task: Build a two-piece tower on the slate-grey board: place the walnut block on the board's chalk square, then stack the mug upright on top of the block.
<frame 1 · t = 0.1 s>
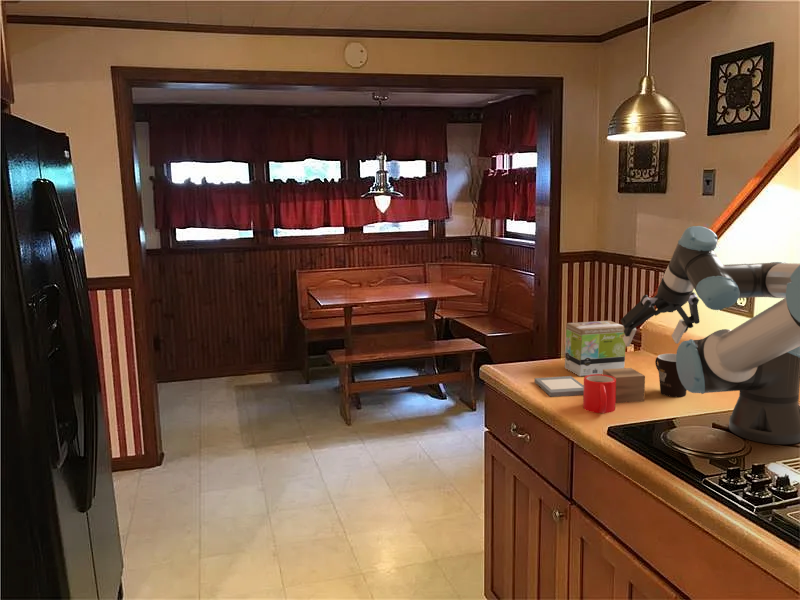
hand: (650, 341, 174), 15 cm above the worktop, tool tilted 35°, fingers open, 13 cm apart
coffee mug: (671, 392, 181), on the worktop
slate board: (561, 388, 187), on the worktop
walnut block: (622, 397, 177), on the worktop
mug: (600, 411, 167), on the worktop
tea box: (594, 371, 203), on the worktop
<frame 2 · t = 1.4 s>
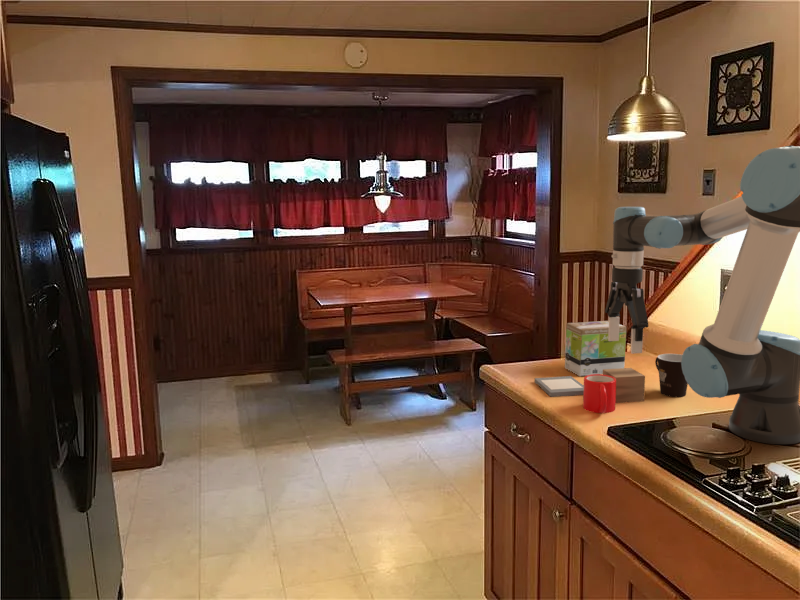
hand: (624, 346, 175), 14 cm above the worktop, tool pointing down, fingers open, 13 cm apart
nothing on the worktop moved.
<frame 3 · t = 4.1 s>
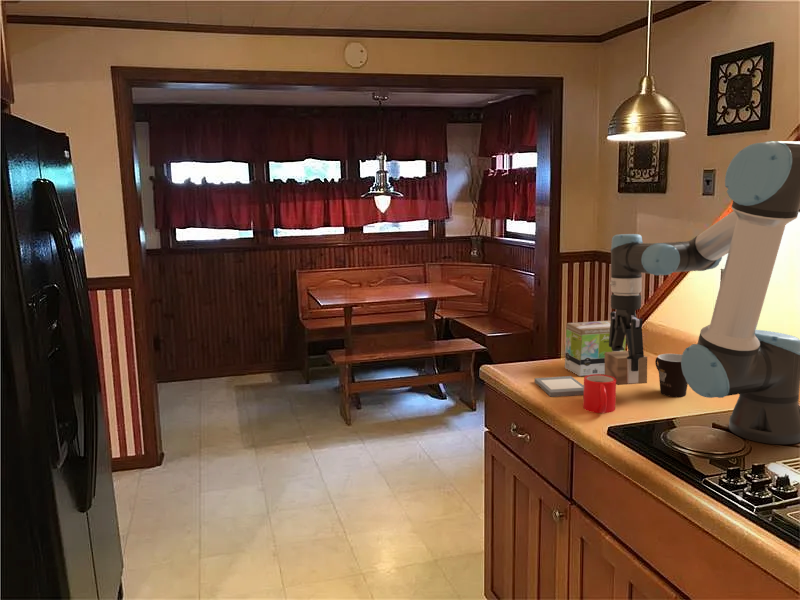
hand: (625, 378, 176), 5 cm above the worktop, tool pointing down, fingers closed on walnut block, 8 cm apart
walnut block: (625, 380, 176), point 5 cm above the worktop, touching gripper
everything else where it was.
when the fingers open (2 cm above the worktop, at t = 8.3 s): walnut block stays where it is, resting on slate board.
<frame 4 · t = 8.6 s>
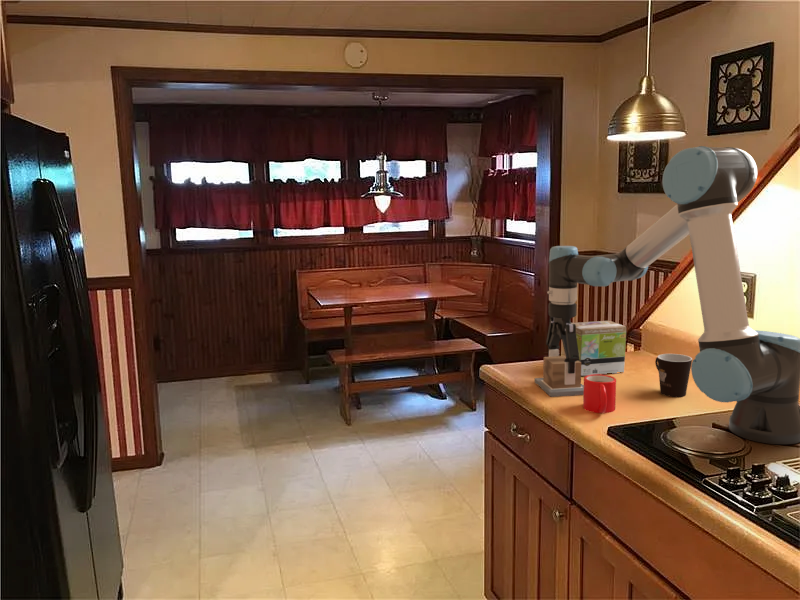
hand: (561, 377, 186), 3 cm above the worktop, tool pointing down, fingers open, 12 cm apart
walnut block: (561, 383, 186), point 1 cm above the worktop, touching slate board
everything else where it was.
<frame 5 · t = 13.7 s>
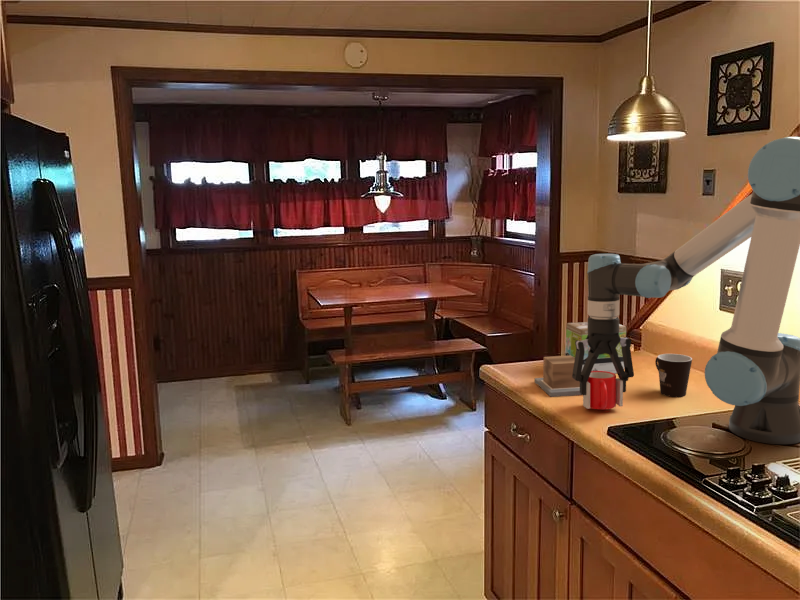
hand: (602, 405, 167), 1 cm above the worktop, tool pointing down, fingers closed on mug, 8 cm apart
mug: (601, 407, 167), point 1 cm above the worktop, touching gripper
everything else where it was.
when the fingers open (9 cm above the worktop, at t = 17.9 s): mug stays where it is, resting on walnut block.
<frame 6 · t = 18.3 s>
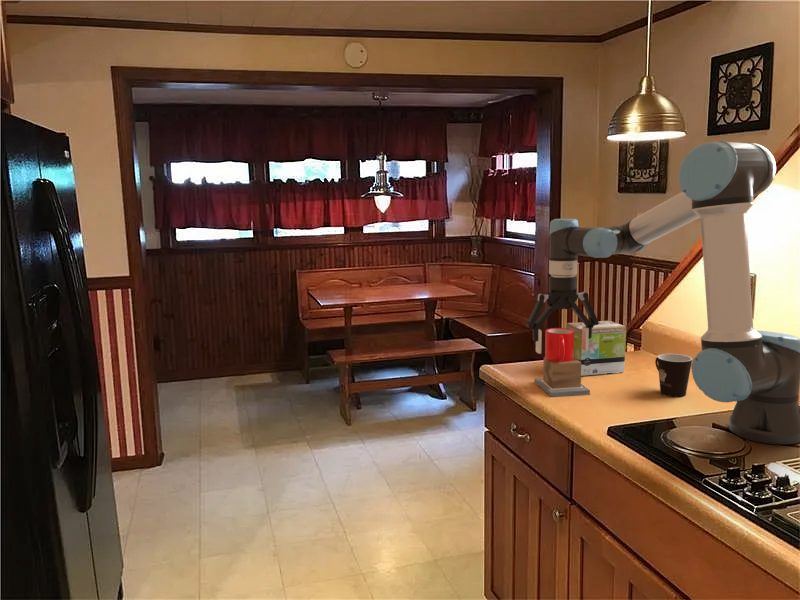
hand: (561, 351, 185), 11 cm above the worktop, tool pointing down, fingers open, 13 cm apart
walnut block: (561, 383, 186), point 1 cm above the worktop, touching mug, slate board
mug: (560, 360, 185), point 8 cm above the worktop, touching walnut block
everything else where it was.
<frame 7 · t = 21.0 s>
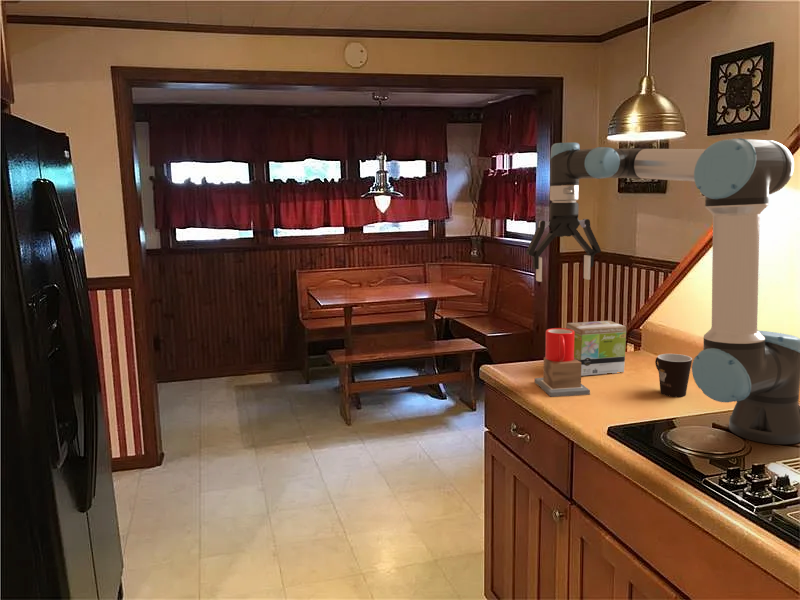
hand: (562, 280, 181), 31 cm above the worktop, tool pointing down, fingers open, 13 cm apart
nothing on the worktop moved.
at the end: walnut block inside the target area on the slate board (0.1 cm from its centre), point 1.2 cm above the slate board's base; mug inside the target area on the walnut block (0.5 cm from its centre), point 6.8 cm above the walnut block's base; mug tilted 0° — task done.
